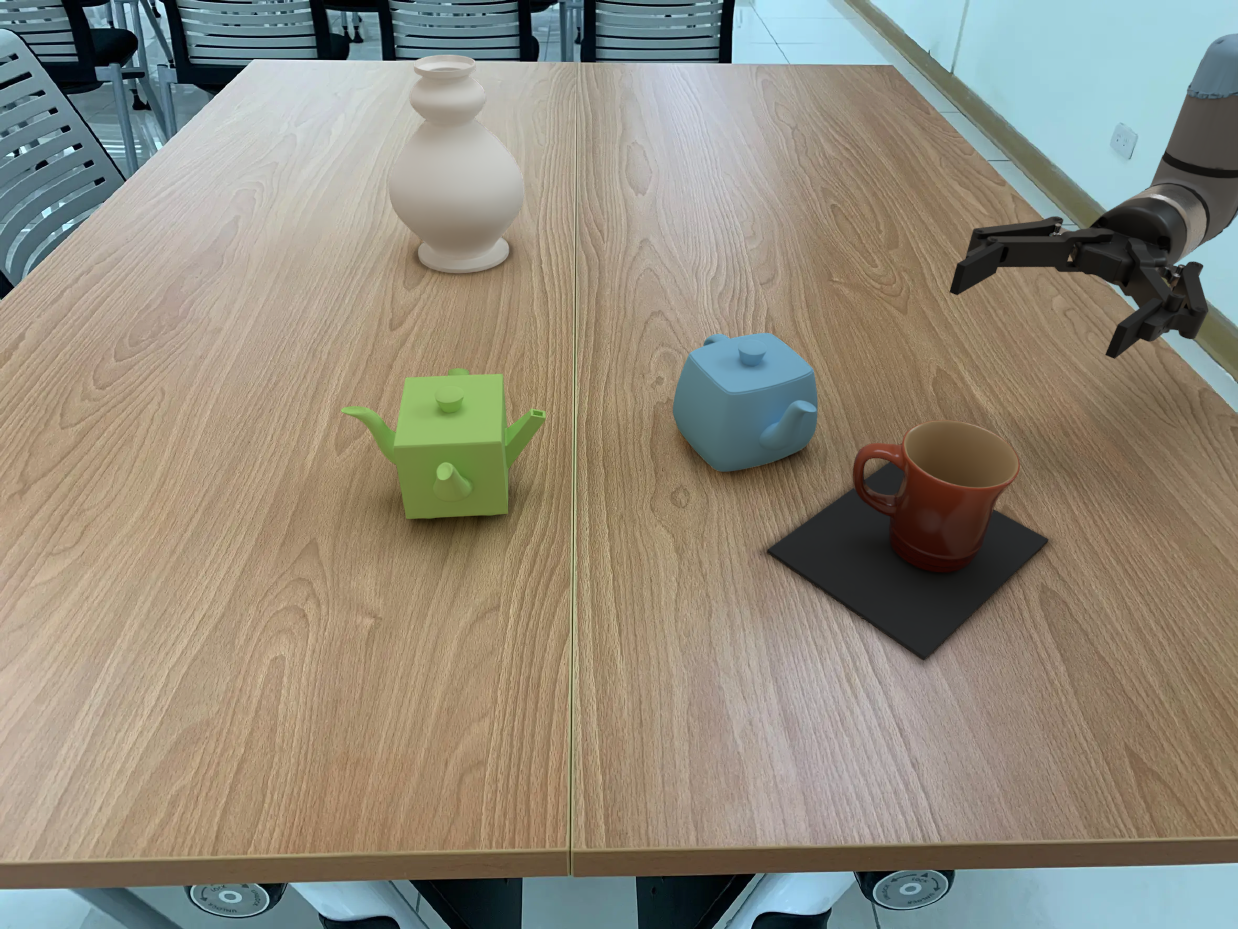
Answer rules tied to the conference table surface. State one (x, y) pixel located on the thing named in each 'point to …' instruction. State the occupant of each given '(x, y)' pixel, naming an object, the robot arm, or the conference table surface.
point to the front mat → (900, 567)
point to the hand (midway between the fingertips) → (1032, 309)
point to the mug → (940, 490)
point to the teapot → (745, 401)
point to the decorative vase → (455, 172)
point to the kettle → (452, 443)
